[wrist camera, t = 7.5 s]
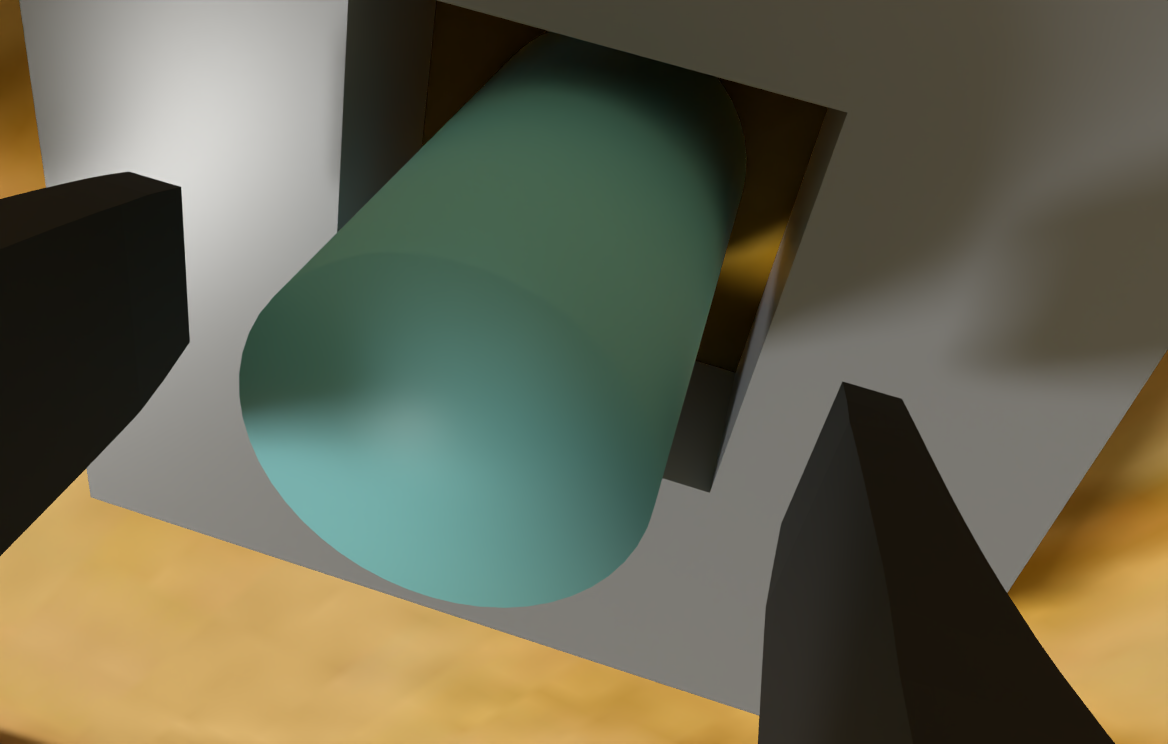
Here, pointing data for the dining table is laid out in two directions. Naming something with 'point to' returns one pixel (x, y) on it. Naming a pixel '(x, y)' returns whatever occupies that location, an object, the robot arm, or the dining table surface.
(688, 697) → the dining table surface
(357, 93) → the socket
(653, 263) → the peg
